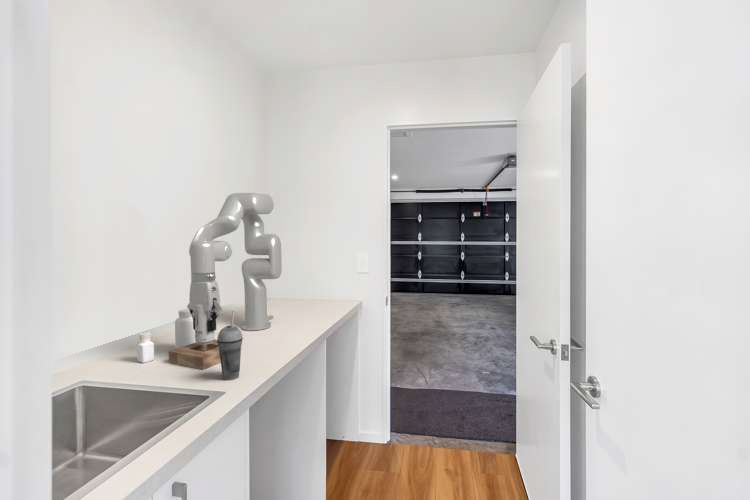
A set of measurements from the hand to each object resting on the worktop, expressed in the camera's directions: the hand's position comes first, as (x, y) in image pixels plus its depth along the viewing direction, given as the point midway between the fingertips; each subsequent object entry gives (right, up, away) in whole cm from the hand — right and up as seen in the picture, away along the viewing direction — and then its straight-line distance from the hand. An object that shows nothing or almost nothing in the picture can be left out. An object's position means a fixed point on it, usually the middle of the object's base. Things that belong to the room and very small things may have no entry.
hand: (204, 329), depth 131 cm
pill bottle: (-11, -10, +10) cm, 18 cm away
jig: (0, -10, +1) cm, 10 cm away
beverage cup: (+15, -11, -16) cm, 25 cm away
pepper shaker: (-20, -11, -1) cm, 22 cm away
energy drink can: (0, -5, 0) cm, 5 cm away
